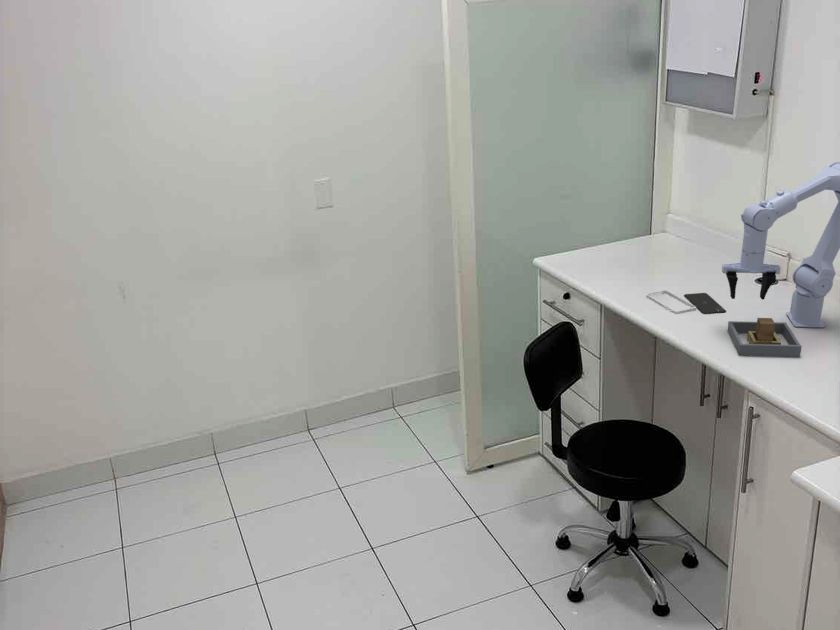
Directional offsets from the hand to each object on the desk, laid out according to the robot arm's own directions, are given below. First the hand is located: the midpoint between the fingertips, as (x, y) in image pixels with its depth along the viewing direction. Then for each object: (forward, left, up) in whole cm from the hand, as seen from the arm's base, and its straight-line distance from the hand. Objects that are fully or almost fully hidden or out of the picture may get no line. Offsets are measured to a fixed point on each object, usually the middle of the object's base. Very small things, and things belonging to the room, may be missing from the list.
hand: (747, 297), depth 231 cm
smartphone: (-18, -7, -10) cm, 22 cm away
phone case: (-18, -17, -10) cm, 27 cm away
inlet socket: (+10, +3, -9) cm, 14 cm away
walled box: (+9, +3, -9) cm, 13 cm away
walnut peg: (+10, +3, -9) cm, 14 cm away
